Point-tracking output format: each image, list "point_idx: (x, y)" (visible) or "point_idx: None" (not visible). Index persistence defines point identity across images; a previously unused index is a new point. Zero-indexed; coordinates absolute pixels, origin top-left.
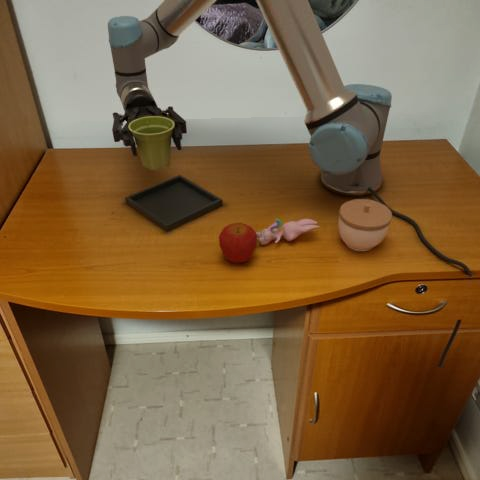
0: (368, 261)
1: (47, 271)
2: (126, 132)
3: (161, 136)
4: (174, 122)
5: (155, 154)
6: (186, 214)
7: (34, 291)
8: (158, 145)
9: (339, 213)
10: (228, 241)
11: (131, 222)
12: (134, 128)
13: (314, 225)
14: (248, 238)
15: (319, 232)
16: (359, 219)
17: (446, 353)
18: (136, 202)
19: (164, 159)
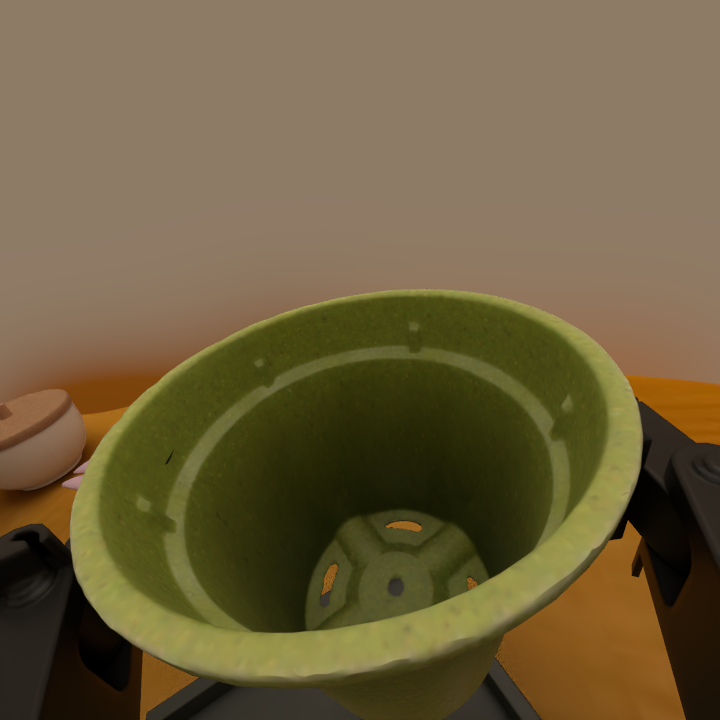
0: (95, 431)
1: (698, 429)
2: (665, 468)
3: (309, 337)
4: (54, 536)
5: (379, 434)
6: (329, 602)
7: (673, 387)
8: (346, 388)
9: (43, 423)
10: None
11: (559, 647)
12: (577, 491)
13: (84, 464)
14: None
15: (69, 506)
16: (46, 399)
17: None
18: None
19: (338, 483)
